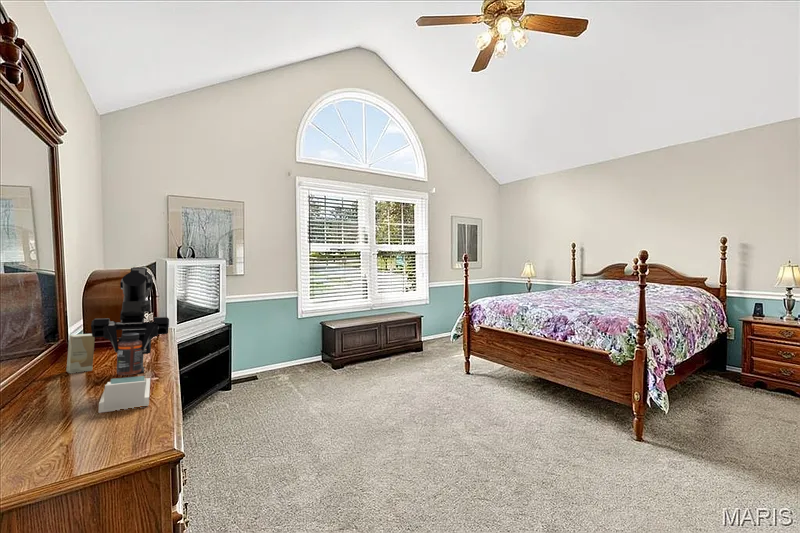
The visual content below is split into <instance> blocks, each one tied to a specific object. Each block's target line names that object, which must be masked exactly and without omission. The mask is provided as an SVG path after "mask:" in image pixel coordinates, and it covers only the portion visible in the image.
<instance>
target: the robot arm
mask: <svg viewBox="0 0 800 533" xmlns="http://www.w3.org/2000/svg"><path fill="white" fill-rule="evenodd" d="M119 283H120V284H119V285H120V287H119V288H120V289H121V290H122V294H123V301H122V305H121V311H120V314H119V315H120V316H119V319H120V322H116V321H113V320H112V321H111V320H110V318H108V317H107V318H105V317H104V318H94V319H93V320H92V321H91V324H90V328H91V334H92V336H93V337H95V338H104V339H105V340H108V341H109V342H110V343H111V345H112V347H113V350H114V353H115V354H116V353H117V351H118V343H119V342H121V341H122V335H123V334H125V333H139V340H140V341H142V343H143V345H142V369H141V372H139V373H138V374H144V373H145V366H144V355H148V354H150V353H151V349H152V348H151V347H152V340H153V338H154V337H156V338H157V337H158V336H159V335H167V334H169V329H170V328H169V327H170V318H169V317H168V316H154V317H153V321H149V322H148V321H147V322H145V313H149V312H151V300H150V299H147V298H148V297H149V296H150V291H152V290H153V275H152V274H150V273H149V272H148V268H147V267H140V266H139V267H135V266H134V267H131V268H130V272H128V273H126V274H124V276H123V277H122V278H121V280H120V282H119ZM117 331H121V337H118V334H117Z"/></svg>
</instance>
